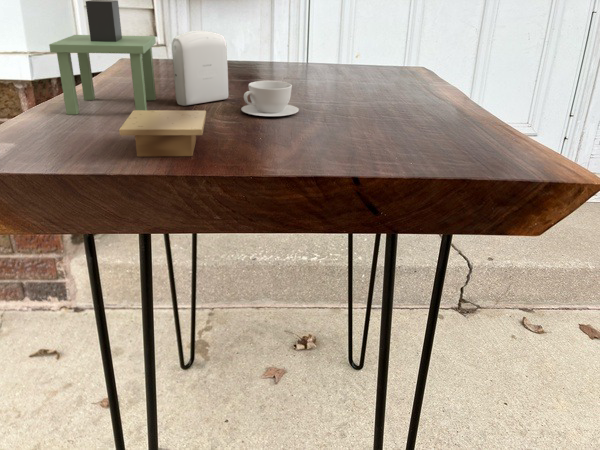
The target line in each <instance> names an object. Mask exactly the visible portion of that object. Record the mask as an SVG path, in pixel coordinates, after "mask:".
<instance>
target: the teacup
mask: <svg viewBox="0 0 600 450" xmlns="http://www.w3.org/2000/svg"><path fill="white" fill-rule="evenodd" d="M292 89H293V85H292V84H291V83H290V82H286V81H280V80H257V81H252V82H249V83H248V90H247V91H246V92H244V94H243V100H244V102H245V104H246V105H243V106H242V107H241V109H240V110H241V111H242V112H243V113H245V114H248V115H252V116H259V117H285V116H290V115H294V114H296V113H298V112H299V110H300V109H299V108H298V107H297V106H294V105H292V104H289V102H290V101H291V97H292ZM248 97H249V99H250V101H249V100H248Z"/></svg>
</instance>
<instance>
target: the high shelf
mask: <svg viewBox="0 0 600 450" xmlns="http://www.w3.org/2000/svg"><path fill="white" fill-rule="evenodd" d="M156 43H157V41H156V36H153V35H122V39H120V40H118V41H117V42H96V41H91V39H90V34H73V35H70V36H67V37H65V38H62V39H59V40H57V41H55V42H52V43H49V44H48V46H49V52H50V53H56V57H57V63H58V69H59V77H60V82H61V88H62V94H63V95H62V96H63V101H64V107H65V113H66V115H67V116H70V115H72V116H74V115H78V114H79V113H80V108H79V101H78V95H77V94H78V93H77V87H76V81H75V75H74V74H75V73H74V67H73V61H72V55H71V54H73V53H74V54H77V62H78V69H79V75H80V82H81V88H82V94H83V100H84V101H94V100H95V99H96V95H95V88H94V80H93V73H92V65H91V57H90V54H123V55H124V54H125V55H126V54H128V55H129V60H130V69H131V80H132V88H133V89H132V90H133V98H134V99H133V101H134V108H135V109H134V110H148V107H147V106H148V105H147V101H156V99H157V94H156V93H157V92H156V81H155V70H154V69H155V68H154V57H153V46H154V45H156Z"/></svg>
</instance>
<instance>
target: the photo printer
mask: <svg viewBox="0 0 600 450" xmlns="http://www.w3.org/2000/svg"><path fill="white" fill-rule="evenodd" d="M171 55H172V68H173V69H172V70H173V80H174V93H175V100H176V103H177V105H179V106H183V107H187V106H192V105H198V104H203V103H210V102H217V101H222V100H227V99H228V98H229V70H228V47H227V41H226V38H225V37H224V35H223V34H221V33H218V32H214V31H211V30H202V29H201V30H200V29H199V30H190V31H186V32H183V33H181V34H178V35H176V36H175V37H173V39H172V42H171Z"/></svg>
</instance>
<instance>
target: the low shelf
mask: <svg viewBox="0 0 600 450" xmlns="http://www.w3.org/2000/svg"><path fill="white" fill-rule="evenodd" d="M206 120H207V111H206V110H181V109H180V110H178V109H177V110H174V109H173V110H171V109H170V110H166V109H165V110H164V109H163V110H159V109H158V110H157V109H155V110H154V109H152V110H149V109H147V110H136V109H134V110H132V111H131V113H130V114H129V115H128V117H127V118H126V120H125V121H124V122H123V124H122V125H121V126H120V127H119V129H118V132H119V136H134V139H135V150H136V157H140V158H141V157H150V158H151V157H193V156H194V152H195V146H196V143H197V136H203V134H204V130H205V129H204V128H205V123H206Z"/></svg>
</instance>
